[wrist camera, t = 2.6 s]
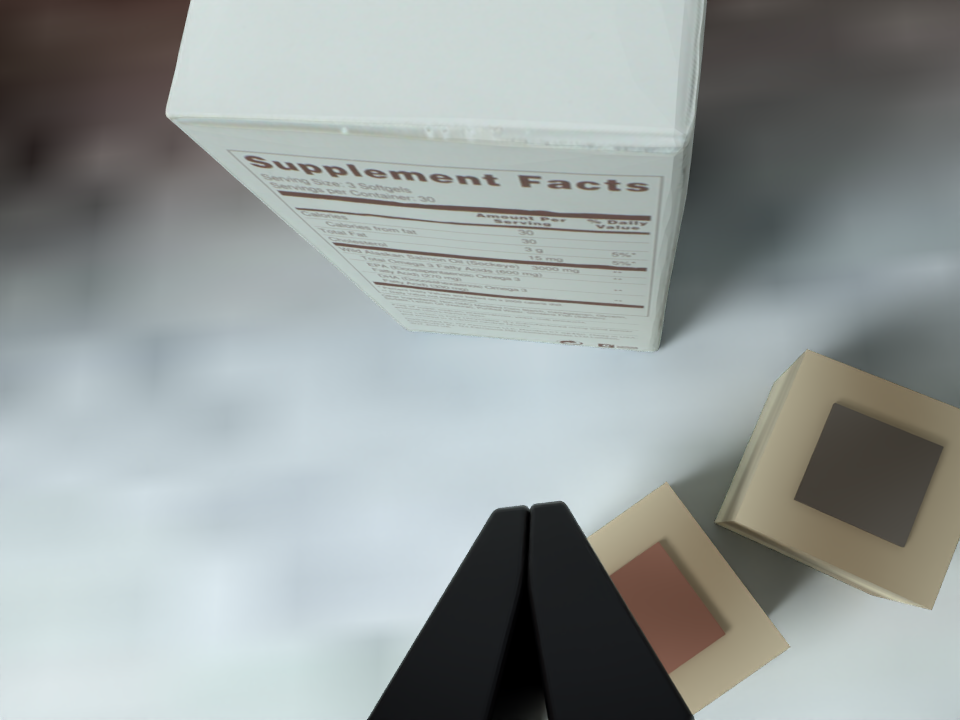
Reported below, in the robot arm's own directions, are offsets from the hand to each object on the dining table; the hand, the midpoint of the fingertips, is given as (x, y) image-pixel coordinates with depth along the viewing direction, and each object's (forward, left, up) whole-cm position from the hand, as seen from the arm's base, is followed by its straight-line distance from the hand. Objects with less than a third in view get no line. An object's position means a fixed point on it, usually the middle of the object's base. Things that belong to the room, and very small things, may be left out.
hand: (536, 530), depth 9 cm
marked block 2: (-4, -4, -12) cm, 13 cm away
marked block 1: (-2, +1, -12) cm, 12 cm away
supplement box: (+6, -6, -12) cm, 15 cm away
